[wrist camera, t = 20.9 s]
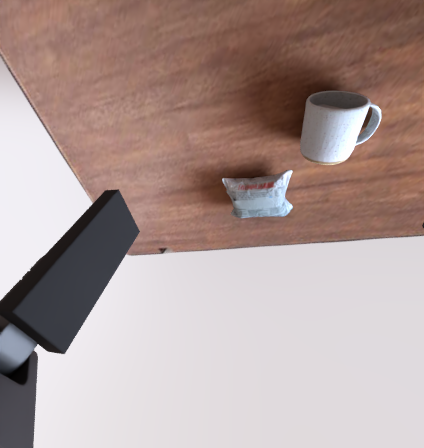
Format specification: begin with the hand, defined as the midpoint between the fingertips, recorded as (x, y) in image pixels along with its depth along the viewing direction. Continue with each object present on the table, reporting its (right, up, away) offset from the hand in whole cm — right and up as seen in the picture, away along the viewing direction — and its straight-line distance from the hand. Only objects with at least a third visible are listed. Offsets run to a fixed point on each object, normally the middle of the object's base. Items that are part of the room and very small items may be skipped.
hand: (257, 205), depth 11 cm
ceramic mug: (+17, +15, +27) cm, 35 cm away
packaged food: (+7, +6, +37) cm, 38 cm away
